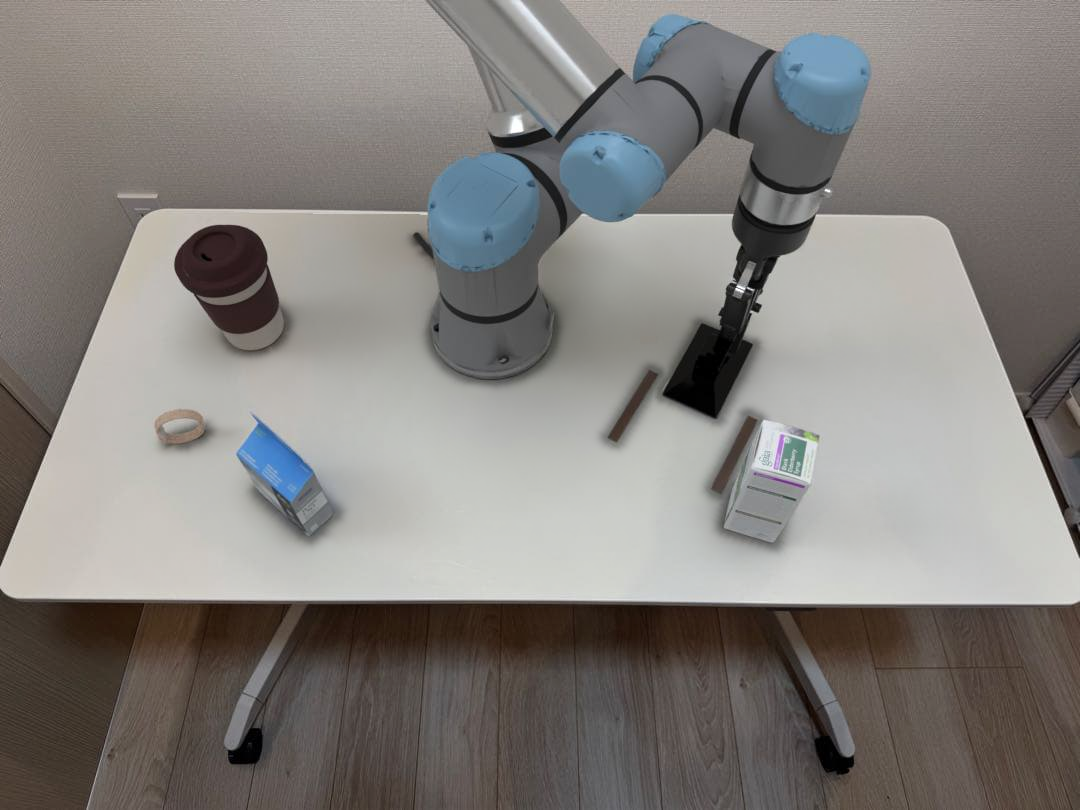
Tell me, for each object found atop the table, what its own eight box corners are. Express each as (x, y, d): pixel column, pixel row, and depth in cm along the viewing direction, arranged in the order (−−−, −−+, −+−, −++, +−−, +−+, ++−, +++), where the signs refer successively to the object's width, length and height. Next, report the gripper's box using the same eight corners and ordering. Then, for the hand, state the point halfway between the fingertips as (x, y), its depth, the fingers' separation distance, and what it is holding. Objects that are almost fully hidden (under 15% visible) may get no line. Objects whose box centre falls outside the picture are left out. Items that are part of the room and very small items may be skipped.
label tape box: (256, 490, 85) (217, 435, 75) (285, 465, 87) (250, 408, 76) (309, 538, 82) (276, 488, 72) (337, 511, 84) (309, 459, 73)
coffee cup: (289, 291, 101) (253, 205, 88) (301, 349, 96) (265, 267, 83) (212, 309, 99) (164, 224, 86) (220, 369, 94) (171, 289, 81)
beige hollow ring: (167, 434, 89) (148, 412, 85) (208, 421, 90) (192, 399, 86) (169, 453, 88) (151, 431, 83) (212, 440, 89) (195, 418, 84)
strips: (607, 437, 89) (607, 436, 89) (649, 370, 94) (649, 369, 94) (720, 493, 85) (721, 493, 85) (757, 420, 90) (758, 419, 90)
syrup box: (774, 545, 82) (816, 485, 70) (720, 528, 83) (751, 466, 71) (783, 499, 85) (824, 433, 73) (730, 483, 86) (762, 416, 74)
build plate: (715, 420, 90) (723, 399, 86) (659, 395, 92) (664, 373, 88) (753, 345, 96) (762, 322, 92) (699, 323, 98) (705, 299, 94)
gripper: (792, 260, 70) (735, 398, 90) (837, 174, 76) (775, 322, 96) (715, 230, 72) (677, 372, 92) (765, 149, 78) (719, 298, 98)
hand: (727, 346), depth 94 cm, fingers closed
